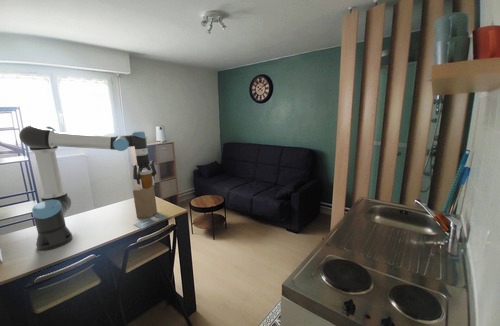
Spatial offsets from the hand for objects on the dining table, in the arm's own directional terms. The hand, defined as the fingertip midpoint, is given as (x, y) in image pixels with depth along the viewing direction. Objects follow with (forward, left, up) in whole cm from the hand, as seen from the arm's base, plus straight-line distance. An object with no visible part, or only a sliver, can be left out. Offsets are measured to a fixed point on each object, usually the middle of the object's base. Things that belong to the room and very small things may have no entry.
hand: (147, 186), depth 152 cm
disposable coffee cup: (0, 0, 0) cm, 1 cm away
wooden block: (-2, 0, -20) cm, 21 cm away
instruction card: (-6, -11, -20) cm, 24 cm away
